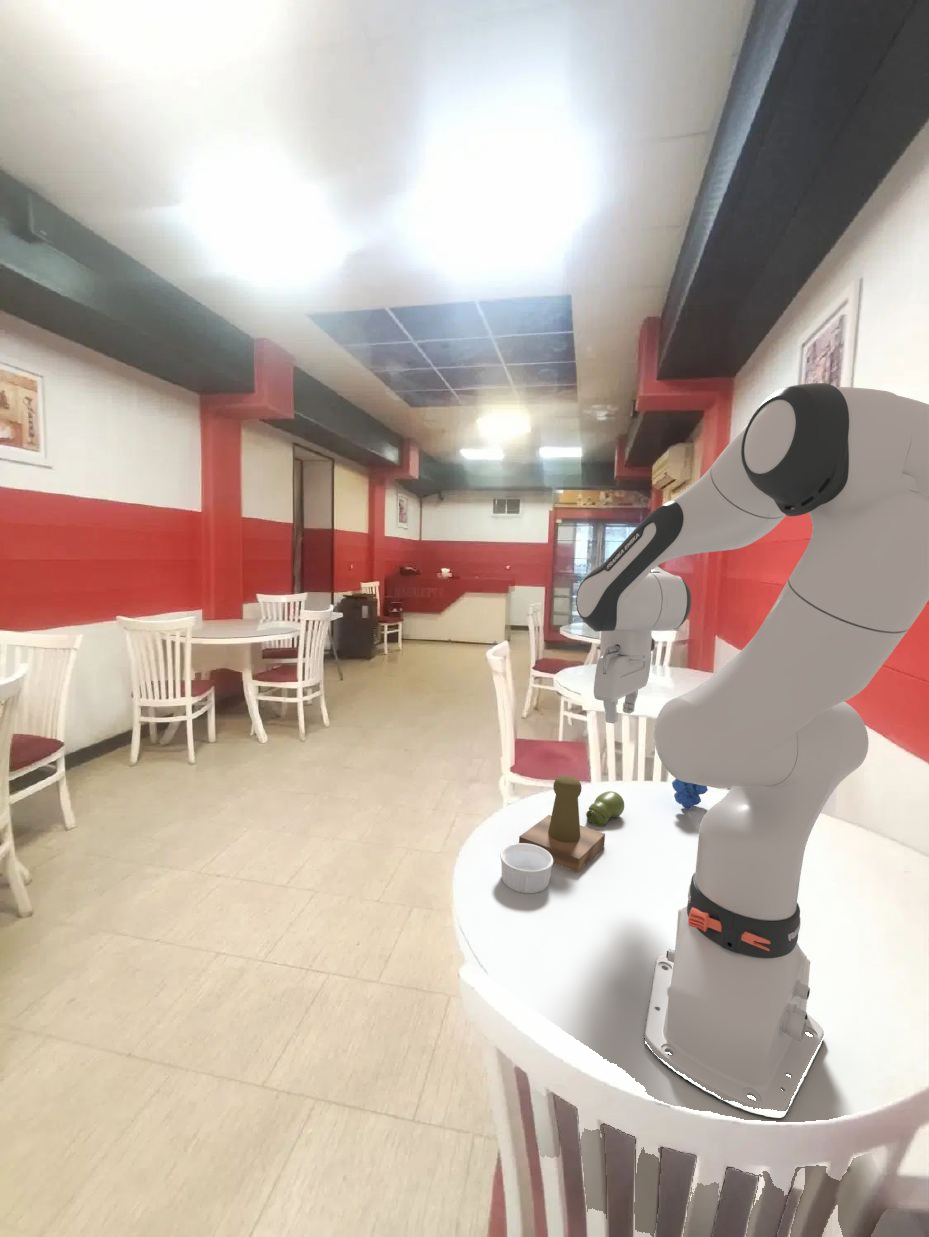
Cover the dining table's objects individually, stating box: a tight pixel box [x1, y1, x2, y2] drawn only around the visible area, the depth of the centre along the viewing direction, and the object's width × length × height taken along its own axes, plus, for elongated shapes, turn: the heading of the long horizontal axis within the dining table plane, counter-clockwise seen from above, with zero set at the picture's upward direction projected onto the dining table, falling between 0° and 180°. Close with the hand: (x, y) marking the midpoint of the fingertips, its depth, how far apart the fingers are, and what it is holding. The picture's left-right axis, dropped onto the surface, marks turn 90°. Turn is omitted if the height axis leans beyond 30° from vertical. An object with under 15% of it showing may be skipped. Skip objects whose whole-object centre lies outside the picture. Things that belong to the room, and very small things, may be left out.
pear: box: [585, 791, 625, 827], centre depth 116 cm, size 6×5×10 cm
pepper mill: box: [548, 775, 582, 842], centre depth 102 cm, size 6×6×11 cm
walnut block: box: [518, 814, 606, 873], centre depth 103 cm, size 12×12×2 cm
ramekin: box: [499, 842, 554, 894], centre depth 91 cm, size 9×9×4 cm
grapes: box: [671, 778, 708, 810], centre depth 122 cm, size 12×7×12 cm, turn 126°
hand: (620, 717), depth 100 cm, fingers open, 8 cm apart
